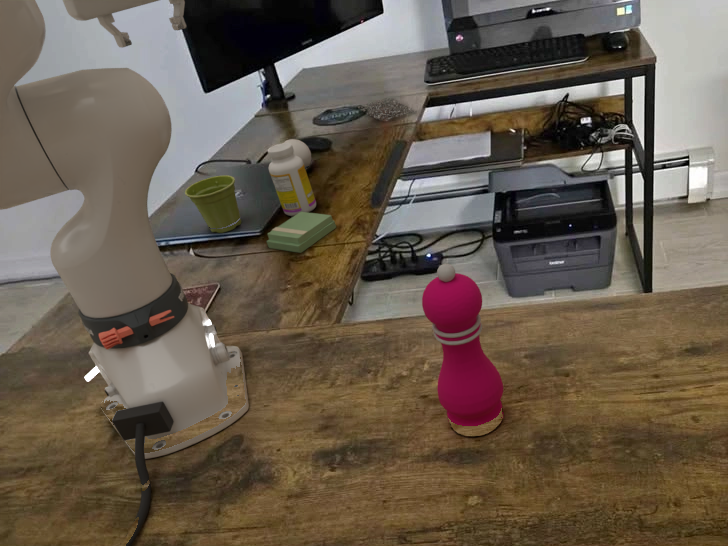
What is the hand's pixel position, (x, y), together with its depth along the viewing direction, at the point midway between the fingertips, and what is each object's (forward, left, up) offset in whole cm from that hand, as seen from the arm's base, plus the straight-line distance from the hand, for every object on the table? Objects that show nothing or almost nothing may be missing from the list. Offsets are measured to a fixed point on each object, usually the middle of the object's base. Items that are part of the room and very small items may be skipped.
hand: (153, 37), depth 104 cm
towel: (-8, -10, -36) cm, 38 cm away
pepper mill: (-72, -9, -36) cm, 81 cm away
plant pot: (+10, 0, -36) cm, 38 cm away
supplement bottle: (+5, -14, -36) cm, 39 cm away
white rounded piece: (+28, -21, -36) cm, 51 cm away
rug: (+51, -55, -36) cm, 83 cm away
